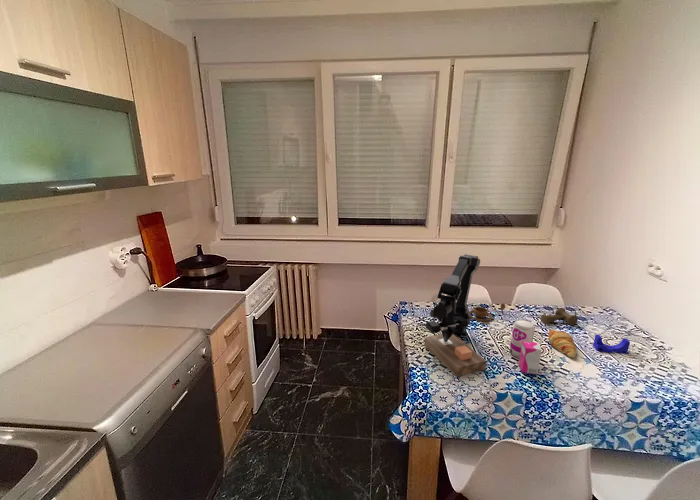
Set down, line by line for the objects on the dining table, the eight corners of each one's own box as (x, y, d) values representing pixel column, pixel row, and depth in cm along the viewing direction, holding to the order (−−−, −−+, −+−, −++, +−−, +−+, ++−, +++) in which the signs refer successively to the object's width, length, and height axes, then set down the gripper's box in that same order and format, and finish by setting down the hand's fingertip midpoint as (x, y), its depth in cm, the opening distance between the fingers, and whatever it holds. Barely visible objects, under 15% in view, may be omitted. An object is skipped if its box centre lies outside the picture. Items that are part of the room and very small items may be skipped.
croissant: (578, 367, 143) (591, 353, 141) (558, 356, 142) (571, 342, 140) (554, 340, 163) (565, 328, 161) (537, 330, 163) (547, 318, 160)
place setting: (466, 309, 190) (467, 299, 189) (503, 312, 186) (505, 303, 185) (470, 323, 174) (472, 313, 172) (511, 327, 170) (513, 317, 168)
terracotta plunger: (463, 352, 140) (464, 345, 139) (471, 359, 136) (472, 351, 135) (454, 354, 139) (455, 347, 138) (461, 361, 134) (462, 353, 133)
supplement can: (521, 361, 140) (527, 329, 136) (505, 351, 148) (509, 321, 144) (534, 356, 144) (539, 325, 140) (517, 347, 151) (522, 317, 147)
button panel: (449, 339, 157) (450, 332, 156) (485, 369, 135) (486, 360, 134) (424, 345, 152) (424, 337, 151) (456, 376, 130) (457, 367, 129)
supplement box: (533, 366, 137) (537, 342, 134) (537, 375, 131) (542, 350, 128) (518, 364, 138) (522, 340, 135) (521, 373, 133) (526, 348, 130)
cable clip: (596, 351, 149) (599, 339, 147) (592, 345, 153) (595, 334, 152) (628, 356, 145) (631, 344, 144) (623, 350, 150) (626, 338, 148)
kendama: (536, 319, 179) (568, 316, 182) (549, 329, 170) (583, 325, 173) (537, 309, 177) (570, 306, 180) (551, 318, 168) (585, 314, 171)
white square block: (446, 344, 152) (446, 337, 151) (452, 350, 148) (453, 343, 147) (437, 346, 150) (437, 339, 149) (443, 352, 146) (444, 345, 145)
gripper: (455, 299, 154) (452, 329, 158) (420, 305, 148) (417, 336, 152) (470, 309, 144) (467, 341, 148) (434, 315, 138) (431, 348, 142)
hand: (445, 341), depth 148 cm, fingers closed, pressing on white square block
